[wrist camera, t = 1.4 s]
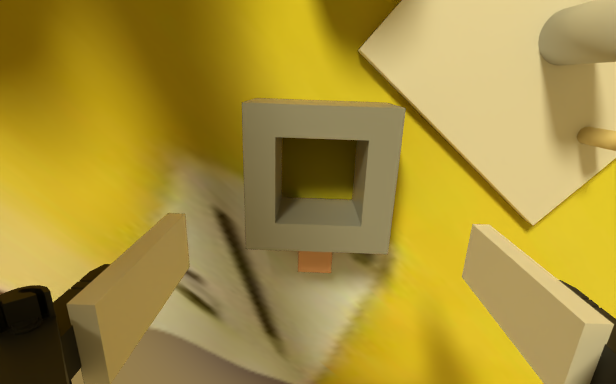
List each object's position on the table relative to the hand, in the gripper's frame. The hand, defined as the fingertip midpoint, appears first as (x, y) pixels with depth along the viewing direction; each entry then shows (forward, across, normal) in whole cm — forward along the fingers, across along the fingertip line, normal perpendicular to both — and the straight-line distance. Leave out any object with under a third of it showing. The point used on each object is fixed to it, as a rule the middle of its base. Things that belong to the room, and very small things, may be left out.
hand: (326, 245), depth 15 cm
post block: (+15, +18, +11) cm, 26 cm away
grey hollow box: (+15, 0, -2) cm, 15 cm away
